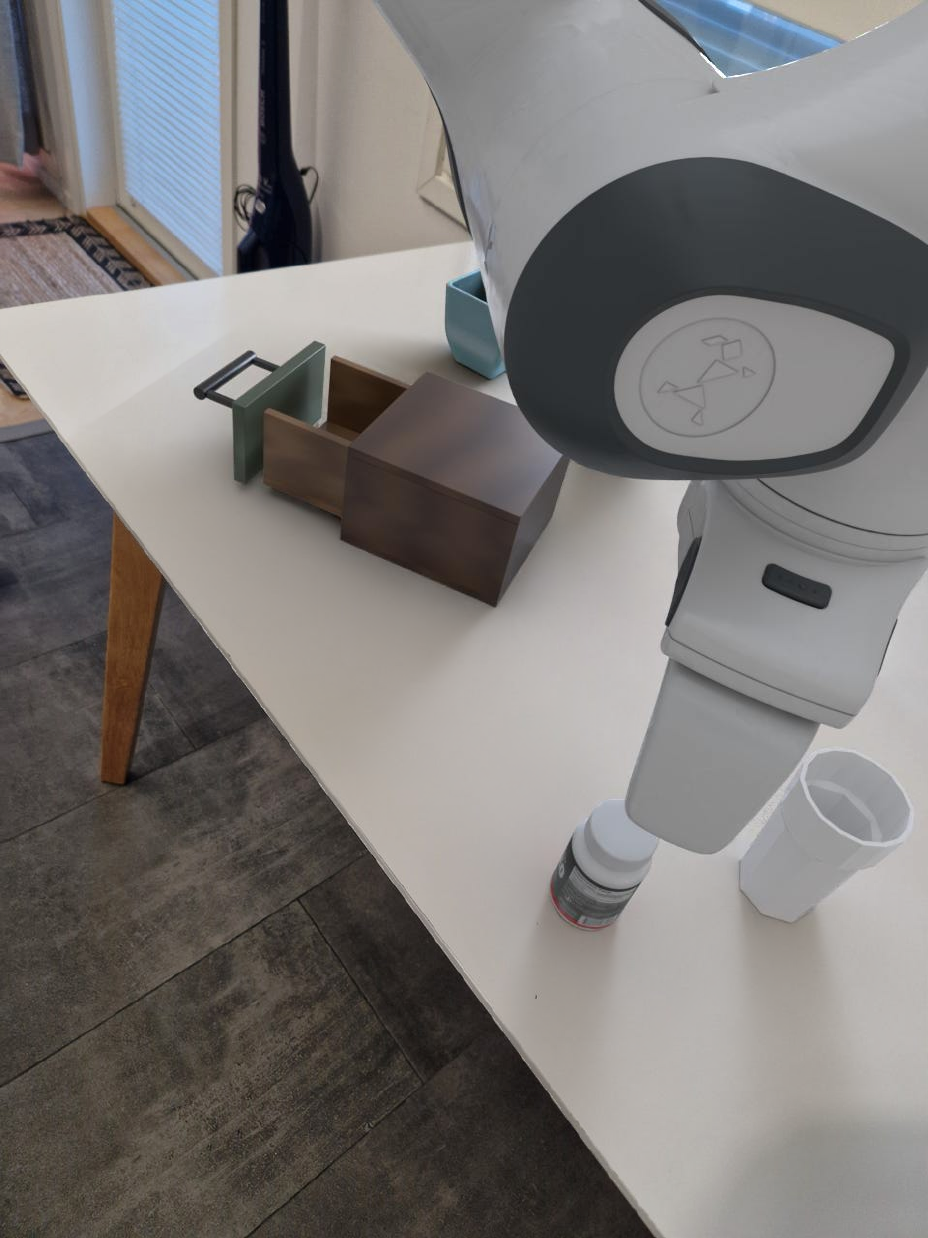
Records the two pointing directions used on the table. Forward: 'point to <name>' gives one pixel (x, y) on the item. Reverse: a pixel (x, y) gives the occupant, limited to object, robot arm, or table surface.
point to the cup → (825, 832)
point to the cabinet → (451, 487)
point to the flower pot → (471, 326)
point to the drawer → (301, 421)
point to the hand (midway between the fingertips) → (678, 735)
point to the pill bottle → (601, 867)
